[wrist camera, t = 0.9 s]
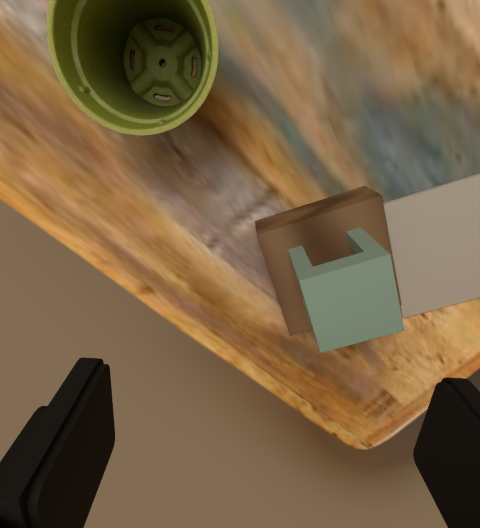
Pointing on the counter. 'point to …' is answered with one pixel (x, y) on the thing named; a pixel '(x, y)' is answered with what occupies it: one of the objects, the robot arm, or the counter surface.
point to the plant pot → (145, 61)
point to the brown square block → (318, 242)
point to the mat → (436, 245)
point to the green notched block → (350, 294)
